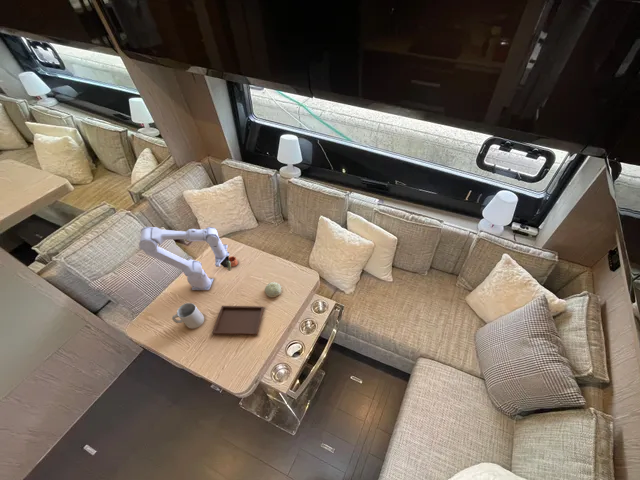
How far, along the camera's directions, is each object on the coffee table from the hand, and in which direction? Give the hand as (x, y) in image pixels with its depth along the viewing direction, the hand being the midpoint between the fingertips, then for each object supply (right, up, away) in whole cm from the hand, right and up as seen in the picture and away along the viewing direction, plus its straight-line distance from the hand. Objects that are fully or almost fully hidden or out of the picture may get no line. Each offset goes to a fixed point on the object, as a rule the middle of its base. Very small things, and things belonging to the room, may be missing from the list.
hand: (226, 265), depth 152 cm
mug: (-12, -29, -12) cm, 34 cm away
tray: (+12, -29, -10) cm, 33 cm away
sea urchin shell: (+26, -15, +2) cm, 30 cm away
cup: (-2, +1, +14) cm, 15 cm away
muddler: (0, -3, +3) cm, 4 cm away
